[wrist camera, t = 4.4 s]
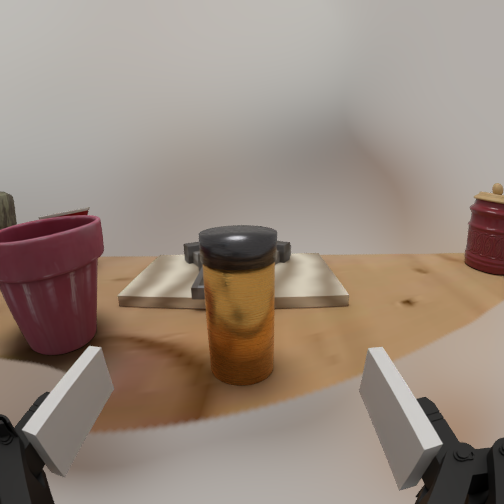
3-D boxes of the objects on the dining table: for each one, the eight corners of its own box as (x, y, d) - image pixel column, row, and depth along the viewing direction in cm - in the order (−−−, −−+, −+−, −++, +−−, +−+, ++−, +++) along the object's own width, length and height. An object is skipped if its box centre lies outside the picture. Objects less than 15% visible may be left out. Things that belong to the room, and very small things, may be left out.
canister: (508, 262, 51) (516, 187, 46) (520, 279, 40) (531, 188, 36) (461, 255, 58) (468, 179, 53) (465, 270, 48) (474, 179, 43)
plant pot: (99, 374, 23) (67, 234, 20) (-9, 363, 21) (-43, 246, 18) (128, 309, 37) (115, 210, 33) (41, 309, 35) (24, 220, 31)
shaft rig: (117, 307, 37) (112, 275, 36) (160, 262, 57) (158, 239, 56) (349, 307, 37) (352, 273, 35) (318, 260, 56) (319, 237, 55)
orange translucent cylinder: (205, 385, 23) (191, 241, 20) (213, 348, 29) (205, 226, 25) (276, 386, 23) (280, 240, 20) (273, 348, 28) (274, 225, 25)
